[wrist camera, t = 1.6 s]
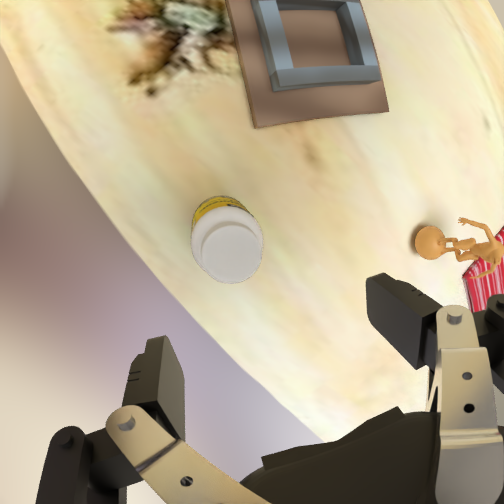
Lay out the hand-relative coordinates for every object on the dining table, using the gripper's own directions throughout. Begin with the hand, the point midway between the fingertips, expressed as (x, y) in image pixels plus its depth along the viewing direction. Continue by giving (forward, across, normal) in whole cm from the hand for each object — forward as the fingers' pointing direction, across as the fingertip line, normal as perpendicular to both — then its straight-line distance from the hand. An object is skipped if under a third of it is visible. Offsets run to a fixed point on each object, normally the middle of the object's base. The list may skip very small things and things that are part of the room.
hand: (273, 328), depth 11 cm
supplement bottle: (+19, 0, 0) cm, 19 cm away
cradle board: (+18, -12, -16) cm, 27 cm away
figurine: (+19, -23, +7) cm, 31 cm away
